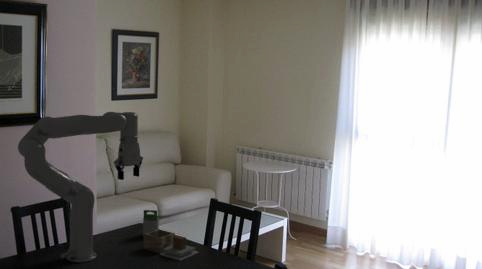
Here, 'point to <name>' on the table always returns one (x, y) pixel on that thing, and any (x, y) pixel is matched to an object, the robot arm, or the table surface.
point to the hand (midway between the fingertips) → (128, 177)
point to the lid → (179, 247)
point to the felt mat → (178, 256)
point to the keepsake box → (158, 240)
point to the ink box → (150, 221)
